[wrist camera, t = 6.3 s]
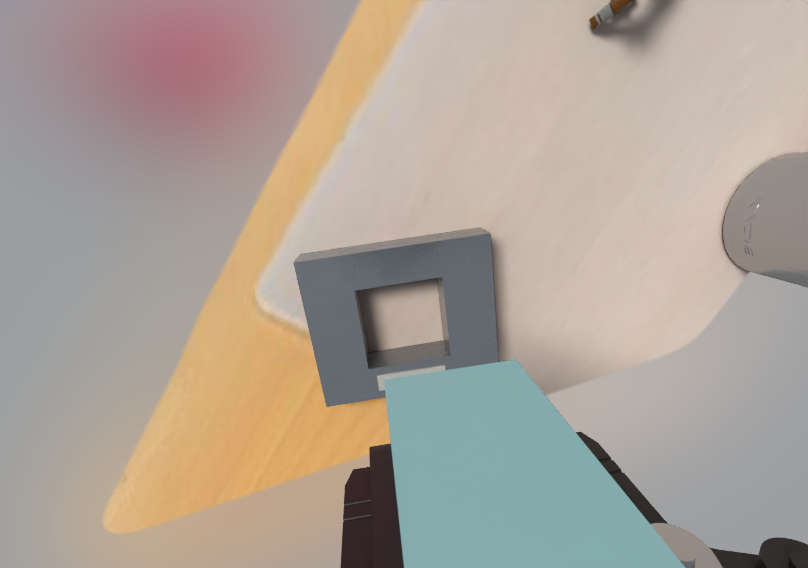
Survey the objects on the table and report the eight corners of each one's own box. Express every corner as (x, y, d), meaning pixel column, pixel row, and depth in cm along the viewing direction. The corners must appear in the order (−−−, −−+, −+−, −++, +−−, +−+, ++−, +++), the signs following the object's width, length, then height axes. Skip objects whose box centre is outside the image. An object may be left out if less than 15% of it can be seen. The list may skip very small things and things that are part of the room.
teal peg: (516, 359, 12) (800, 708, 4) (518, 465, 13) (736, 882, 5) (384, 379, 11) (428, 795, 4) (399, 486, 13) (454, 957, 5)
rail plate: (479, 227, 27) (490, 233, 25) (489, 361, 30) (499, 378, 28) (300, 254, 26) (293, 263, 24) (329, 387, 30) (326, 407, 27)
